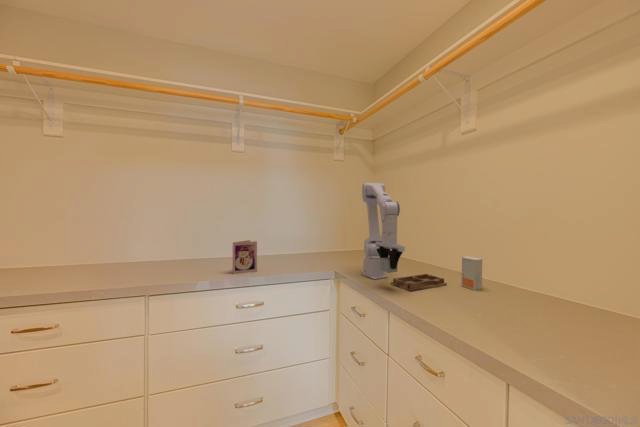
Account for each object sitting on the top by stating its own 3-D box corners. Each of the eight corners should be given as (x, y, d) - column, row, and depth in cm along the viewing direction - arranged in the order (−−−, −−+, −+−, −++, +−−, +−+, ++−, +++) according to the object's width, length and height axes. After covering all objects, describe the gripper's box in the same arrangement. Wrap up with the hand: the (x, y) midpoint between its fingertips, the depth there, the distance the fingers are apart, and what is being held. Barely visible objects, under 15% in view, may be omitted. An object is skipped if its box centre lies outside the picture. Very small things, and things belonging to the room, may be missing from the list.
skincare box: (460, 286, 106) (461, 256, 106) (468, 285, 107) (469, 256, 107) (474, 290, 100) (475, 259, 100) (482, 289, 102) (482, 258, 101)
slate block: (380, 270, 103) (380, 257, 103) (389, 269, 105) (389, 256, 105) (388, 272, 99) (388, 259, 99) (397, 271, 101) (397, 258, 101)
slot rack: (390, 284, 108) (390, 277, 108) (425, 278, 117) (425, 272, 117) (411, 292, 98) (411, 285, 98) (447, 285, 107) (447, 279, 107)
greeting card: (232, 274, 122) (232, 242, 122) (230, 271, 129) (230, 240, 129) (257, 272, 127) (257, 241, 127) (254, 268, 134) (254, 239, 134)
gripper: (369, 231, 106) (369, 264, 106) (394, 234, 93) (393, 272, 93) (383, 230, 109) (383, 263, 110) (409, 233, 96) (408, 270, 96)
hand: (389, 267), depth 102 cm, fingers closed on slate block, 4 cm apart
